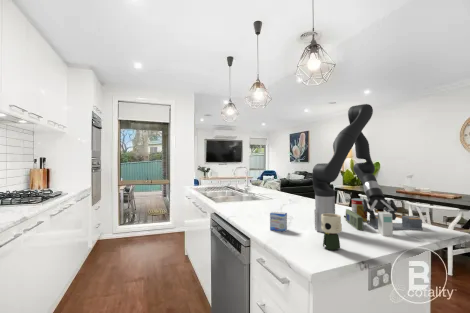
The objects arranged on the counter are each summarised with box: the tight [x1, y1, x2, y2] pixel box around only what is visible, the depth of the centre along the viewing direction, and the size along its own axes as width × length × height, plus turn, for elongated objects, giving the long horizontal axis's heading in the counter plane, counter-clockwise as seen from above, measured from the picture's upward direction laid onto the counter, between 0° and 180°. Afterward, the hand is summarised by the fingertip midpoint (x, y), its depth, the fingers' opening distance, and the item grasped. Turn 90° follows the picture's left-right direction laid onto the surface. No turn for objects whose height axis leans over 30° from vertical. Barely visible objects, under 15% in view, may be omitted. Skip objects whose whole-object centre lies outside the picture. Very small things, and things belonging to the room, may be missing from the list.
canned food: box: [351, 197, 368, 223], centre depth 136 cm, size 8×8×12 cm
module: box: [377, 211, 394, 237], centre depth 109 cm, size 4×5×10 cm
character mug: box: [321, 213, 343, 251], centre depth 92 cm, size 11×7×13 cm, turn 18°
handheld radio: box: [343, 208, 364, 231], centre depth 128 cm, size 7×3×25 cm
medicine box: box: [269, 211, 288, 232], centre depth 118 cm, size 8×4×9 cm, turn 68°
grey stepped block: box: [366, 214, 424, 231], centre depth 121 cm, size 22×9×5 cm, turn 81°
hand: (384, 219), depth 110 cm, fingers open, 8 cm apart
